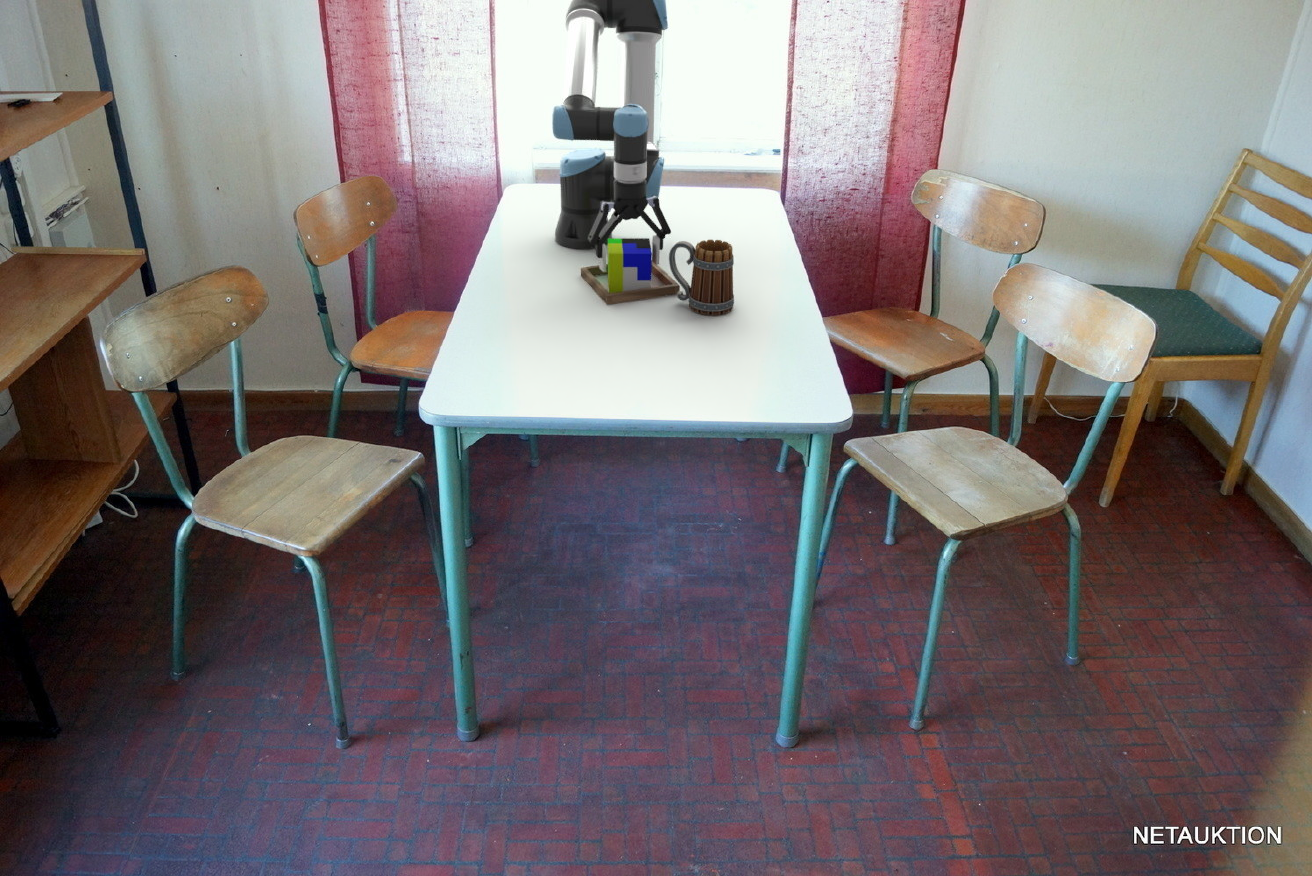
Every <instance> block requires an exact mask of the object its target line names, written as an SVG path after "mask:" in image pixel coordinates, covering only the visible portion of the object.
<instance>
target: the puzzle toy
mask: <svg viewBox="0 0 1312 876" xmlns="http://www.w3.org/2000/svg"><path fill="white" fill-rule="evenodd" d="M607 264H608V274H607V283H608V285H607V286H608V292H609V293H617V292H623V291H630V290H637V289H644V288H651V287H652V273H651V267H652V246H651V241H650V238H646V237H645V238H638V237H637V238H636V237H635V238H632V237H631V238H625V237H624V238H621V237H620V238H613V237H612V238H610V239H608V244H607Z"/></svg>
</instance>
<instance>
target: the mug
mask: <svg viewBox="0 0 1312 876" xmlns="http://www.w3.org/2000/svg"><path fill="white" fill-rule="evenodd" d="M679 248H684V249H685V250H687V251H688V253H689V258H688V259H687V260H686V264H687V265H688V266H690V265H691V264H693V266H692V275H691V280H690V281H691V284H690V283H689V282H688V281H687V280H686V279H685V278H684V277H683V275H682V274H681V272H680V270H679V268H678V267H677V263H676V252H677V249H679ZM734 261H735V260H734V255H733V245H732V244H731V243H729V242H728V241H725V240H724V241H722V240H721V239H715V241H714V239H707V240H701V241H700V242H697V243H696V245H695V246H694V245H693V244H692V243H690V241H689V242H688V241H685V240H682V241H681V240H680V241H678V242H676V243H675V244H674V245H673V246H672V247H671V248H670V250H669V254H668V263H669V268H670V272H671V274H672V276H673V277H674V280H675V281H676V282H677V283H678V284H679V285H680V287H682V288H683V290H684V291H682V290H680V291H678V293H677V294H676V297H677V299H678V300H680V301H681V302H682V301H683V302H685V301H687V302H688V307H689V309H690V310H691V311H693V312H694V313H697V314H699V315H702V316H708V317H710V316H711V317H716V316H722V315H726V314H728V313H730V312H731V311H732V310H733V308H734V304H735V295H734V276H733V275H734V272H733V271H734V270H733V269H734V267H733V266H734ZM684 292H685V293H684Z"/></svg>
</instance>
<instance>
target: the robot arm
mask: <svg viewBox="0 0 1312 876" xmlns="http://www.w3.org/2000/svg"><path fill="white" fill-rule="evenodd" d="M667 12H668V11H667V2H666V0H570V3H569V4H568V7H567V10H566V15H565V23H564V25H565V28H566V31H567V32H568V37H567V49H566V61H565V76H564V85H563V100H562V104H560V105H555V106H554V107H553V109H552V115H551V116H552V117H551V122H552V123H551V124H552V125H551V127H552V134H553V136H554V138H555V139H557V140H563V141H571V142H572V141H600V142H613V155H610V156H609V155H607V153H606V152H605V150H604V149H602V148H597V147H586V148H580V149H579V148H578V149H574V150H572V151H568V152H567V153H565V154H564V155H563V156H562V157H561V159H560V162H559V173H558V174H559V175H558V176H559V178H560V179H559V180H560V182H559V183H560V206H561V207H560V213H559V217H558V220H557V224H556V226H555V231H554V235H555V236H554V239H555V240H554V241H555V242H556V243H557V244H558V245H560V246H563V247H566V248H569V249H570V248H571V249H579V250H585V249H586V250H589V249H595V256H596V258H598V261H599V263H598V265H599V268H600V269H601V270H602V271H603V272H606V264H607V246H608V239H610V238H613V231H614V230H615V228H616V227H617V226H618V225H619V224H621V222H622V221H623V220H624V221H629V220H631V219H632V220H638V219H639V218H641V219H642V220H643V221H644V222H645V223H646V224H647V226H648V227H649V228H650V229H651V230H652V231H653V233H655V234H652V240H651V241H652V242H651V243H652V244H651V245H652V246H651V252H652V261H653V262H654V263H655V264H656V265H658V266H660V251H662V250H663V249H664V239H666V235H671V233H672V230H671V228H670V226H669V224H668V222H667V219H666V217H665V215H664V213H663V210H662V208H661V207H660V199H659V196H660V193H661V192H660V191H661V184H662V178H663V172H664V165H665V158H664V157H662V156H660V149H659V148H658V147H657V146H656V145H655V143H654V132H655V131H654V129H655V128H654V127H655V95H656V94H655V89H656V87H655V85H656V82H655V81H656V48H657V47H656V45H657V43H658V42H659V41H661V39H662V38H663V31H666V30H668V28H669V24H668V13H667ZM606 28H607V29H615V37H616V38H617V40H619V42H620V43H621V50H620V51H621V54H620V55H621V57H620V58H621V59H620V60H621V61H620V62H621V63H620V107H619V106H616V107H615V106H596V97H597V81H598V80H597V79H598V68H599V67H598V65H599V54H600V53H599V50H600V49H599V48H600V39H601V38H600V37H601V36H602V34H603V33H604V31H605V29H606ZM648 205H649V206H650V207H651V209H652V211H653V212H654V215H655V217H656V219H657V221H658V223H659V225H660V227H661V228H659V226H657V224H656V223H655V221H654V220H652V219H651V218H650V216H649V215H648V213H646V211H645V209H646V208H647V206H648ZM611 210H614V211H613V213H611V217H610V218H608V216H609V213H610V212H611Z"/></svg>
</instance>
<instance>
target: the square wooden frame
mask: <svg viewBox="0 0 1312 876" xmlns="http://www.w3.org/2000/svg"><path fill="white" fill-rule="evenodd" d="M605 275H607V276H608V263H606V272H603V271H602V270H601V269H600V268H599V264H598V265H591V266H590V265H589V266H583V267H580V277H581V278H582V279H583V280H584V282H585V283H586V284H587V285H588V286H589V287H590V288H591V289H592V290H593V292H595V293H596V295H597V296H598V297H599V298H600V299H601V301H603V302H604V303H605V304H606V306H608V305H616V304H623V303H629V302H635V301H642V300H643V301H644V300H648V299H654V298H655V299H656V298H663V297H668V296H675V295H676V296H677V293H678V291H681V285H680V283H679V282H678V281H677V280H676V279H674V278H673V277H671V275H669V274H668V273H667V272H666V271H665V270H663V269H662V268H661V267H660V265H656V264H655V263H654V262H653V261H652V267H651V275H653V276H654V277H655V278H657V280H659V282H661V283H662V284H663V285H659V286H651V288H644V289H637V290H630V291H623V292H617V293H609V290H608V289H607V288H606V287H604V285H603V284H602V283H601V282H600V281H599V280H598V279H597V277H599V276H605Z"/></svg>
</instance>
